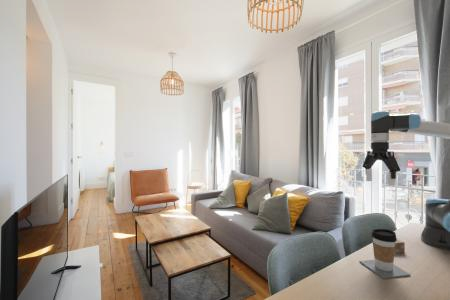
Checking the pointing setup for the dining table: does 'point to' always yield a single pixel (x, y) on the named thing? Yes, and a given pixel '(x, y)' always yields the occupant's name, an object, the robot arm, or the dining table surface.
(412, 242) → the dining table surface
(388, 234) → the coffee cup
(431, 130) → the robot arm
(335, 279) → the dining table surface
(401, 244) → the walnut block
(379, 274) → the slate coaster
